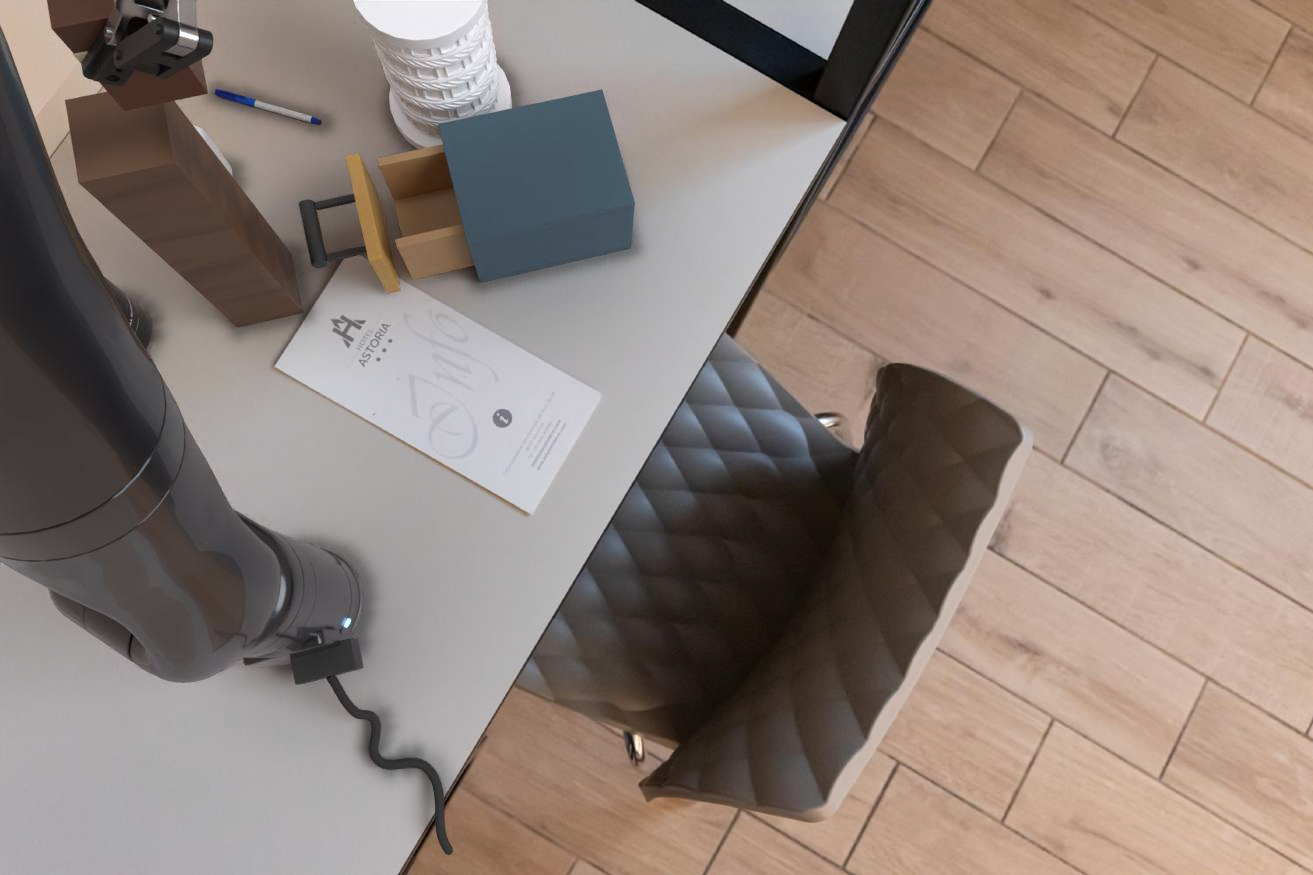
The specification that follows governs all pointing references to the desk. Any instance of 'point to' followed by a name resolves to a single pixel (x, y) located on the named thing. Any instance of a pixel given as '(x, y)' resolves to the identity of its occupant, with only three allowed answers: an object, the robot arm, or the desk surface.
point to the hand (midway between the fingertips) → (95, 40)
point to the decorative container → (436, 62)
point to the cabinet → (539, 185)
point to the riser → (183, 205)
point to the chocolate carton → (79, 19)
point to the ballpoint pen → (265, 106)
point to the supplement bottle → (134, 315)
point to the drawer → (399, 217)
